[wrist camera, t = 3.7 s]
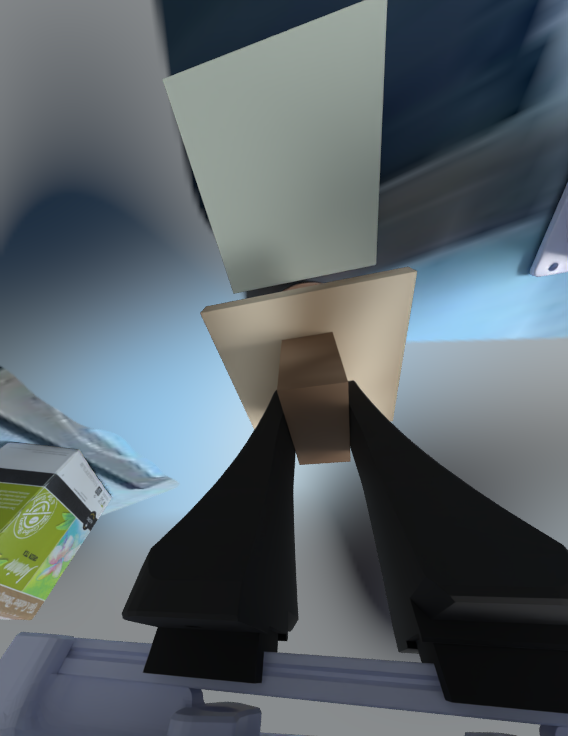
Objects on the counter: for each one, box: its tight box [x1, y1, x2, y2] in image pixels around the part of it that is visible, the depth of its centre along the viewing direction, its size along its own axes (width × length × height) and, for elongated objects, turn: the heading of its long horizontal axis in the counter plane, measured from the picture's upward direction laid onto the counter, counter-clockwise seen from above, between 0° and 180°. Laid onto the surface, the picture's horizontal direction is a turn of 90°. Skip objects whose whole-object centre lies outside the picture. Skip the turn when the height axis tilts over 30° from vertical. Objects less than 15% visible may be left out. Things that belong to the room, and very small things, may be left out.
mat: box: [163, 0, 387, 293], centre depth 12 cm, size 10×10×1 cm
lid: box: [200, 267, 417, 465], centre depth 10 cm, size 9×9×4 cm
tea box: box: [0, 442, 112, 620], centre depth 28 cm, size 15×10×15 cm, turn 172°
